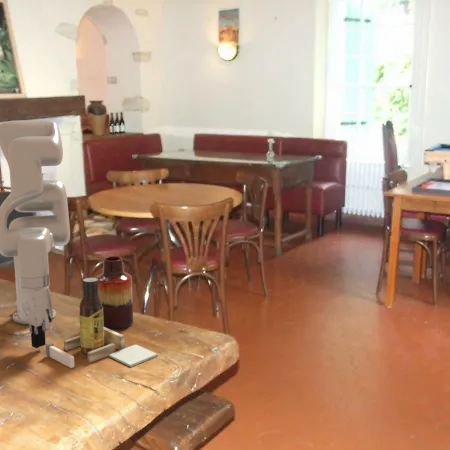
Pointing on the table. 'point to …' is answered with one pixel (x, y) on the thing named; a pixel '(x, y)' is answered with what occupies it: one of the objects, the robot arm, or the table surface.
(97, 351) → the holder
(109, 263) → the vase
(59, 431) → the table surface
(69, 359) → the bar
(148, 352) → the tile
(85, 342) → the sauce bottle
